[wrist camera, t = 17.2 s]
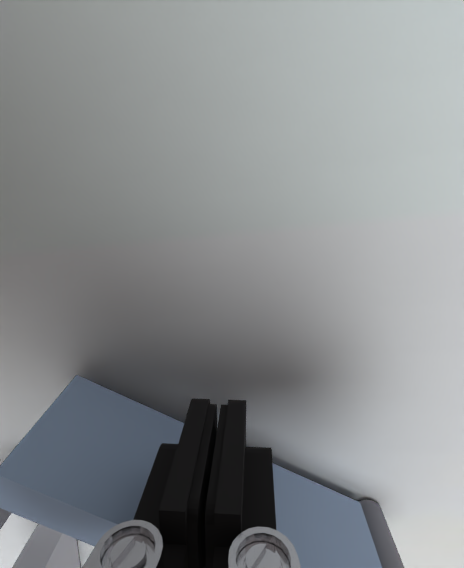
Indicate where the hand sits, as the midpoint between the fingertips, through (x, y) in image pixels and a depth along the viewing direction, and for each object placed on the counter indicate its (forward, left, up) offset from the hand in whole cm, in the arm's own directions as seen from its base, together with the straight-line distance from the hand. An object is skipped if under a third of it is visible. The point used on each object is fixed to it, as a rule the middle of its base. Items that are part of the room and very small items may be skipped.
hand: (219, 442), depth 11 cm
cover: (0, -3, -3) cm, 4 cm away
